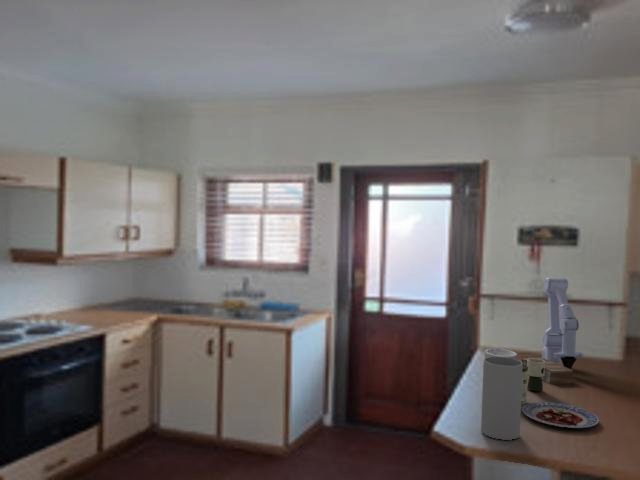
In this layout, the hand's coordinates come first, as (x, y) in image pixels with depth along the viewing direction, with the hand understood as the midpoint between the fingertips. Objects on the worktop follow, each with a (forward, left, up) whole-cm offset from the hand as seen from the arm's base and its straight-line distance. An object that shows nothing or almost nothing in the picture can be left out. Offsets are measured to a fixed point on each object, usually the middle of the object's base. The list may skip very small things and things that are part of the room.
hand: (567, 372), depth 266 cm
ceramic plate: (+50, -42, -2) cm, 65 cm away
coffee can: (+28, -47, -2) cm, 55 cm away
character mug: (+18, -30, -2) cm, 35 cm away
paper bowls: (-17, -25, -2) cm, 30 cm away
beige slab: (0, -12, -1) cm, 12 cm away
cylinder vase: (+59, -72, -2) cm, 93 cm away
